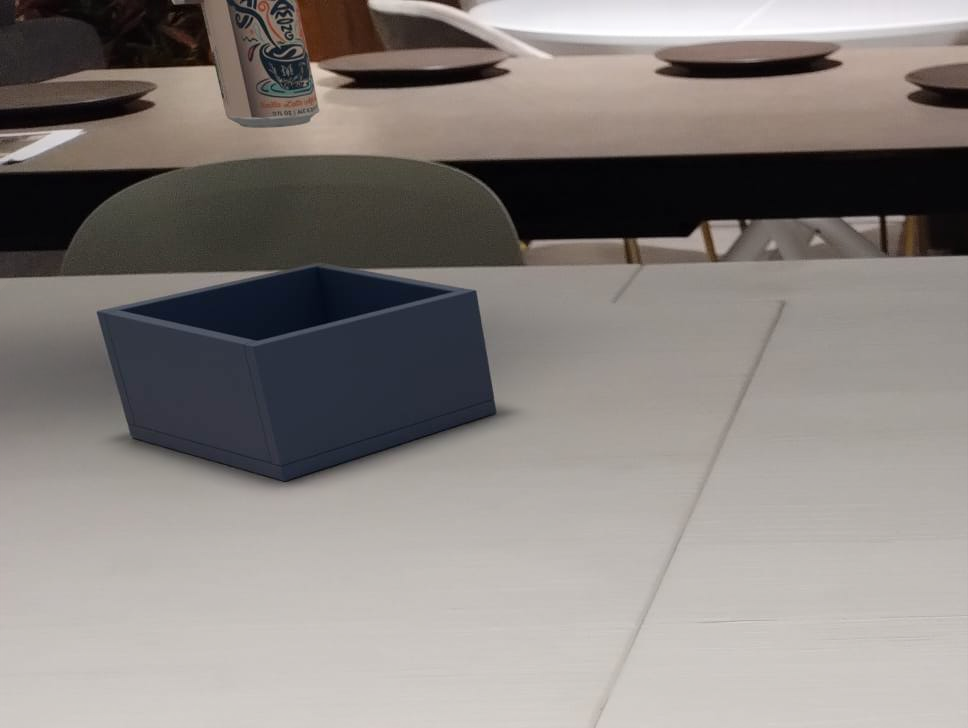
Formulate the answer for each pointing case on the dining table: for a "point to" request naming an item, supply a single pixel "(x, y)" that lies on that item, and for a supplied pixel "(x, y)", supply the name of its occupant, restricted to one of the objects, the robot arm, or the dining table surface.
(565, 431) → the dining table surface
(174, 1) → the robot arm
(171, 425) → the bin
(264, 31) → the coffee can
